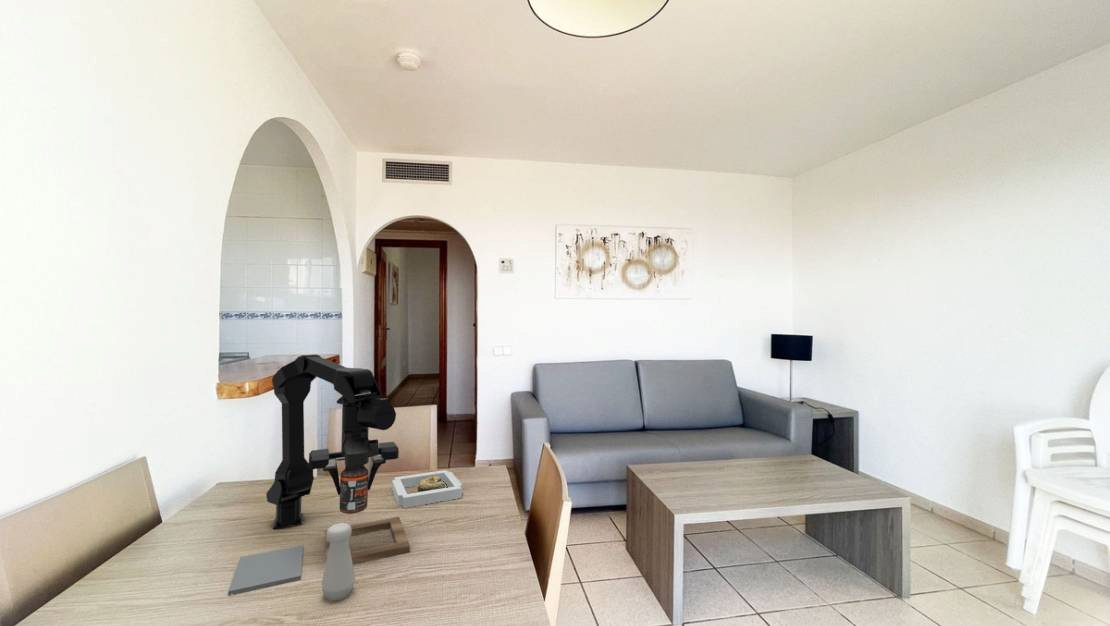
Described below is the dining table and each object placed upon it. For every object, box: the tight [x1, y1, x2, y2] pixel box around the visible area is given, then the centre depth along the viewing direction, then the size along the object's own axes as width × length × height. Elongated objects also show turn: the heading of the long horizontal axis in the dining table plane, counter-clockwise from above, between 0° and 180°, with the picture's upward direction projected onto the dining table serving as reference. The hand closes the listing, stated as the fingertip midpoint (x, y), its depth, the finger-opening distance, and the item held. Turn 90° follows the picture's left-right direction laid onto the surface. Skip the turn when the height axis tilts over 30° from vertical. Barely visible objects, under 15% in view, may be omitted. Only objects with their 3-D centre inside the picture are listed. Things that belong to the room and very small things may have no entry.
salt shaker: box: [321, 522, 356, 602], centre depth 86 cm, size 6×6×13 cm
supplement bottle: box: [339, 464, 369, 515], centre depth 105 cm, size 6×6×11 cm
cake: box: [416, 476, 447, 493], centre depth 138 cm, size 10×10×5 cm
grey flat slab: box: [227, 544, 304, 596], centre depth 95 cm, size 14×12×1 cm
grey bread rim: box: [391, 469, 464, 510], centre depth 138 cm, size 18×18×3 cm
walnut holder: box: [325, 516, 411, 565], centre depth 106 cm, size 17×17×2 cm
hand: (354, 491), depth 105 cm, fingers closed on supplement bottle, 6 cm apart
